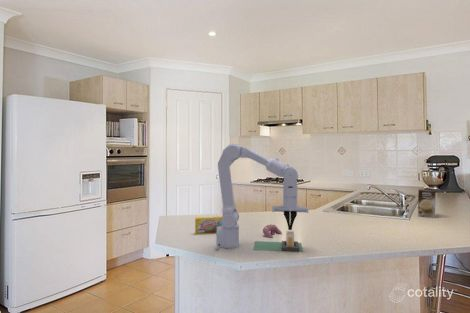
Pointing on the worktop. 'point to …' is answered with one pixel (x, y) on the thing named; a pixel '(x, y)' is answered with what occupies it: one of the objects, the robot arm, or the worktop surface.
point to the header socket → (290, 249)
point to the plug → (289, 238)
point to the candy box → (207, 225)
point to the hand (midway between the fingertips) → (290, 229)
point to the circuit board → (271, 246)
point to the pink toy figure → (271, 231)
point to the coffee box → (426, 203)
